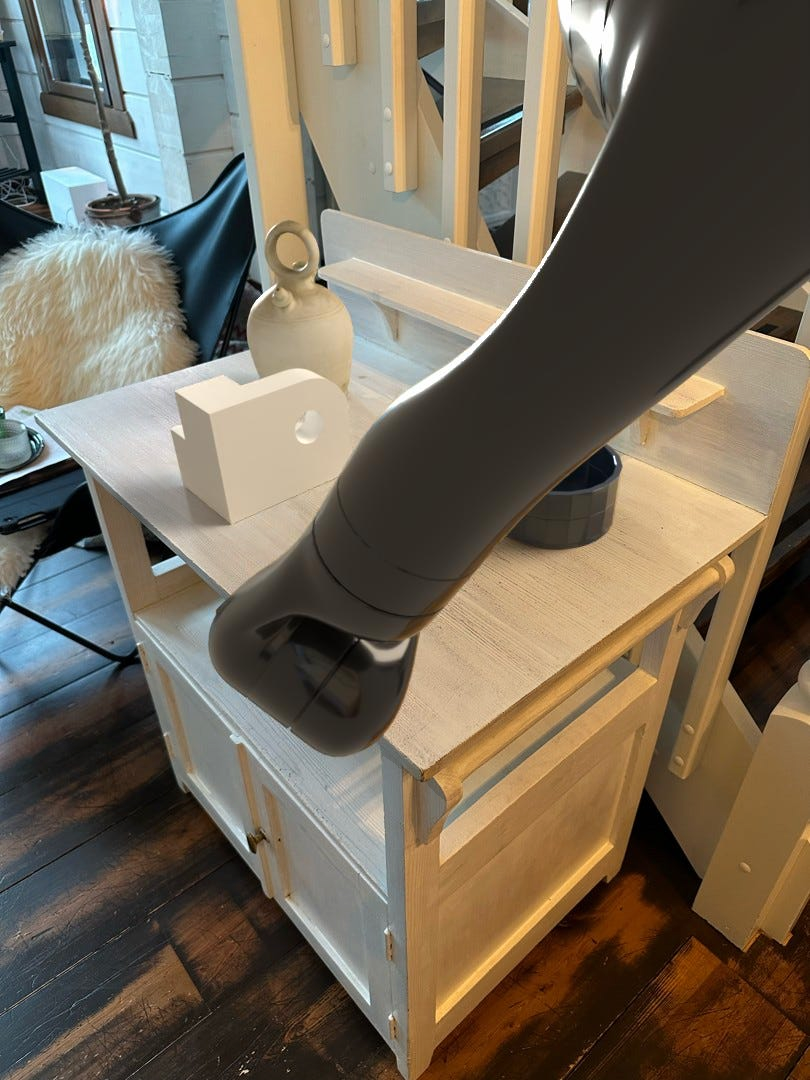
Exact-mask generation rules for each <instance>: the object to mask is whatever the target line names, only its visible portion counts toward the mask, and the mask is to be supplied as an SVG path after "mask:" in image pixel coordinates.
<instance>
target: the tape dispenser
mask: <svg viewBox="0 0 810 1080" xmlns="http://www.w3.org/2000/svg"><path fill="white" fill-rule="evenodd" d="M173 392H174V395H175V401H176V405H177V409H178V413H179V418H180V422H181V424H178V425H175V426H173V427H171V428H169V430H170V434H171V438H172V442H173V443H172V444H173V447H174V451H175V455H176V459H177V464H178V468H179V472H180V477H181V481H182V485H183V486H184V487H185V488H186V489H187V490H188V491H190V492H191V493H192V494H194V496H196V497H197V498H198V499H200V500H201V501H202V502H203V503H204V504H206V505H207V506H208V507H209V508H211V510H213V511H214V512H216V514H218V515H219V516H220V517H221V518H223V520H225V522H227V523H229V524H230V525H234V524H236V523H238V522H240V521H243V520H244V519H247V518H249V517H251V516H253V515H256V514H258V513H260V512H262V511H265V510H268V508H269V509H270V508H271V507H274V506H276V505H279V504H281V503H283V502H285V501H287V500H289V499H292V498H293V497H296V496H298V495H301V494H303V493H305V492H307V491H310V490H311V489H314V488H316V487H318V486H321V485H323V484H326V483H328V482H329V481H332V480H334V479H337V478H338V476H339V474H340V473H341V471H342V469H343V467H344V465H345V464H346V462H347V460H348V459H349V457H350V455H351V454H352V452H353V451H354V449H353V438H352V427H351V426H352V425H351V414H350V406H349V402H348V399H347V395H346V396H345V394H344V393H343V391H342V390H341V389H340V388H339V387H338V386H337V385H336V384H335V383H333V382H331V381H329V380H327V379H325V378H324V377H322V376H320V375H318V374H316V373H314V372H312V371H309V370H306V369H298V368H296V369H289V370H286V371H283V372H280V373H277V374H274V375H271V376H268V377H265V378H262V379H260V378H259V379H256V380H253V381H251V382H248V383H245V384H242V385H241V384H239V383H238V382H236V381H234V380H233V379H231V378H230V377H227V376H226V375H224V374H220V375H218V376H215V377H211V378H209V379H206V380H203V381H199V382H197V383H193V384H190V385H188V386H185V387H181V388H179V389H175V390H174V391H173ZM304 414H305V415H304ZM303 415H304V419H303V421H299V420H300V418H301V417H302V416H303Z"/></svg>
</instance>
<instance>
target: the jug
mask: <svg viewBox="0 0 810 1080" xmlns="http://www.w3.org/2000/svg"><path fill="white" fill-rule="evenodd" d="M287 233H288V234H293V235H295V236H297V237H298V238H299V239H300V240H301V242H303V244H304V247H305V248H306V251H307V261H306V260H305V261H304V260H303V261H300V260H299V261H296V262H293V263H292V268H291V267H290V268H289V267H288V266H286V265H285V264H284V263H282V261H281V260H280V258H279V256H278V252H277V243H278V240H279V239H280V238H281V236H282V235H285V234H287ZM263 253H264V258H265V261H266V263H267V266H268V267H269V268H270V270H271V271H272V272H273V273H274V274H275V275H276V276H277V282H276V283H275V285H273V286H272V287H269V289H267V290H266V291H264V293H263V294H262V295H260V297H258V299H256V300H255V302H254V303H253V304H252V307H251V308H250V311H249V315H248V319H247V323H246V338H247V339H246V340H247V345H248V349H249V353H250V356H251V358H252V361H253V364H254V367H255V370H256V372H257V374H258V376H259V379H262V378H265V377H268V376H271V375H274V374H277V373H280V372H283V371H286V370H289V369H296V368H298V369H306V370H309V371H312V372H314V373H316V374H318V375H320V376H322V377H324V378H325V379H327V380H329V381H331V382H333V383H335V384H336V385H337V386H338V387H339V388H340V389H341V390H342V391H343V393H344V394H345V396H346V397H347V395H348V391H349V389H348V387H349V384H350V380H351V374H352V373H351V372H352V364H353V363H352V362H353V355H354V353H353V352H354V340H355V334H354V327H353V321H352V317H351V315H350V313H349V311H348V309H347V307H346V306H345V304H344V302H343V300H342V299H341V298H340V297H339V296H338V295H337V294H336V293H335V292H333V291H332V290H330V289H328V288H327V287H325V286H323V285H321V284H319V283H316V282H315V277H316V276H317V273H318V272H319V263H320V249H319V244H318V242H317V240H316V238H315V236H314V234H313V233H312V232H311V230H309V229H308V227H307V226H305V225H304V224H302V223H300V222H298V221H295V220H291V219H288V220H283V221H280V222H278V223H276V224H275V225H274V226H272V227H271V228H270V230H269V231H268V233H267V235H266V236H265V240H264V244H263Z"/></svg>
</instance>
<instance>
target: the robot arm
mask: <svg viewBox="0 0 810 1080" xmlns="http://www.w3.org/2000/svg"><path fill="white" fill-rule="evenodd" d="M556 6H557V8H556V9H557V17H558V24H559V31H560V36H561V41H562V47H563V51H564V53H565V57H566V60H567V64H568V65H569V68H570V71H571V75H572V78H573V80H574V83H575V86H576V88H577V89H578V91H579V93H580V94H581V96H582V98H583V100H584V102H585V104H586V105H587V107H588V109H589V110H590V112H591V114H592V115H593V117H595V119H596V120H597V121H598V122H599V124H600V125H601V127H602V129H603V130H604V132H605V134H606V136H605V137H604V140H603V142H602V144H601V147H600V149H599V151H598V153H597V155H596V158H595V159H594V161H593V163H592V166H591V168H590V170H589V172H588V174H587V176H586V178H585V180H584V182H583V183H582V186H581V188H580V190H579V192H578V194H577V196H576V198H575V199H574V202H573V204H572V206H571V208H570V209H569V212H568V213H567V214H566V217H565V219H564V221H563V222H562V225H561V226H560V228H559V230H558V232H557V234H556V235H555V238H554V239H553V241H552V243H551V244H550V246H549V247H548V249H547V251H546V253H545V255H544V256H543V258H542V260H541V261H540V263H539V264H538V266H537V267H536V268H535V269H534V272H533V273H532V275H531V276H530V278H529V279H528V280H527V282H526V284H525V285H524V286H523V288H521V290H520V291H519V293H518V294H517V296H516V297H515V298H514V299H513V301H512V302H511V303H510V304H509V306H508V307H507V308H506V309H505V310H504V311H503V312H502V314H501V315H500V316H499V317H498V318H497V319H496V320H495V321H494V322H493V324H491V325H490V327H488V328H487V329H486V330H485V331H484V332H483V333H482V334H481V335H480V336H479V337H478V338H477V339H476V340H475V341H474V342H472V344H470V345H469V346H467V347H466V348H465V349H464V350H463V351H461V352H460V353H459V354H457V355H456V356H455V357H454V358H452V359H450V360H449V361H448V362H446V363H444V364H443V365H442V366H440V367H439V368H437V369H435V370H433V371H432V372H430V373H429V374H428V375H426V376H425V377H424V378H422V379H420V380H419V381H417V382H416V383H414V384H413V385H412V386H410V387H409V388H408V389H407V390H405V391H404V392H403V393H401V394H400V395H399V396H398V397H397V398H395V400H393V401H392V402H391V403H390V404H389V405H388V406H387V407H386V408H385V409H384V410H383V412H382V413H381V414H380V415H379V416H378V417H377V418H376V419H375V421H374V422H373V423H372V425H371V426H370V427H369V428H368V430H367V431H365V434H363V436H362V437H361V439H360V440H359V441H358V443H357V445H356V446H355V447H354V449H353V452H352V454H351V455H350V457H349V459H348V460H347V462H346V464H345V465H344V467H343V469H342V471H341V473H340V474H339V476H338V477H336V478H335V481H334V483H333V484H332V486H331V488H330V490H329V491H328V493H327V495H326V496H325V498H324V500H323V501H322V503H321V505H320V507H319V508H318V510H317V512H316V513H315V515H314V516H313V518H312V520H311V521H310V522H309V524H308V526H307V527H306V529H305V530H304V531H303V533H302V534H301V535H300V536H299V537H298V538H297V540H296V541H294V543H293V544H292V545H291V546H290V547H289V548H288V549H287V550H285V551H284V552H283V553H282V554H281V555H279V556H278V557H277V558H276V559H274V560H273V561H271V562H270V563H269V564H267V565H265V566H264V567H263V568H261V569H260V570H259V571H257V572H256V573H255V574H253V575H251V576H250V577H249V578H248V579H247V580H245V581H244V582H243V583H242V584H241V585H240V586H239V587H237V588H236V589H235V590H234V591H233V592H232V593H231V594H230V595H229V596H228V597H227V598H226V600H225V601H224V602H223V603H222V605H221V606H220V607H219V609H218V610H217V612H216V614H215V615H214V617H213V619H212V622H211V624H210V627H209V632H208V638H207V639H208V641H207V647H208V654H209V657H210V662H211V664H212V666H213V668H214V670H215V672H216V673H217V674H218V676H219V677H220V678H221V679H222V680H223V681H224V682H225V683H226V684H227V685H228V686H229V687H231V688H232V689H233V690H235V691H236V692H237V693H238V694H240V695H242V696H243V697H244V698H246V699H247V700H249V701H250V702H251V703H253V704H254V705H255V706H256V707H257V708H259V709H260V710H262V711H263V712H264V713H265V714H267V715H268V716H269V717H271V718H272V719H273V720H274V721H276V722H277V723H278V724H280V725H281V726H282V727H283V728H285V729H286V730H288V729H289V732H290V733H292V734H293V735H294V736H296V737H297V738H298V739H299V740H301V741H302V742H303V743H304V744H306V745H307V746H308V747H310V748H311V749H313V750H314V751H316V752H318V753H320V754H322V755H323V756H328V757H332V758H345V757H349V756H354V755H356V754H359V753H361V752H363V751H365V750H366V749H368V748H370V747H372V746H373V745H374V744H376V743H377V742H378V741H380V740H381V738H382V737H383V736H384V735H385V734H386V732H387V731H388V730H389V729H390V727H391V726H392V725H393V724H394V722H395V720H396V718H397V716H398V714H399V712H400V711H401V708H402V706H403V704H404V702H405V699H406V696H407V693H408V689H409V687H410V683H411V680H412V675H413V671H414V667H415V661H416V656H417V651H418V645H419V641H420V635H421V632H422V631H424V629H426V628H427V627H428V626H429V625H430V624H431V623H432V622H433V621H435V619H436V618H437V617H438V615H440V613H441V612H442V611H443V610H444V609H445V607H447V605H448V604H449V603H450V602H451V600H453V598H454V597H455V596H456V595H457V594H458V593H459V591H460V590H461V589H462V588H463V587H464V585H466V583H467V582H468V581H469V580H470V579H471V578H472V576H474V574H475V573H476V572H477V570H479V568H480V567H481V566H482V565H483V564H484V563H485V561H486V560H487V559H488V558H489V557H490V556H491V554H492V553H493V552H494V550H495V549H496V548H497V547H498V546H499V545H500V543H501V542H502V541H503V540H504V539H505V538H506V537H507V536H506V535H507V534H508V533H509V532H510V531H511V530H512V529H513V528H514V527H515V526H516V525H517V524H518V523H519V521H520V520H521V519H522V518H523V517H524V516H525V515H526V514H527V513H528V512H529V511H530V510H531V509H532V508H533V507H534V506H535V505H536V504H537V503H538V502H539V501H540V500H542V499H543V498H544V497H545V496H546V495H547V494H548V493H549V492H550V491H551V490H552V489H553V488H554V487H555V486H557V485H558V484H559V483H560V482H561V481H562V480H563V479H565V478H566V477H567V476H568V475H569V474H570V473H571V472H573V471H574V470H575V469H576V468H577V467H579V466H580V465H581V464H582V463H584V462H585V461H586V460H587V459H588V458H590V457H591V456H592V455H593V454H594V453H596V452H597V451H598V450H599V449H601V448H602V447H603V446H604V445H606V444H609V442H611V441H613V439H615V438H616V437H617V436H618V435H619V434H620V433H622V432H623V431H625V430H626V429H627V428H628V427H630V426H632V424H634V423H635V422H636V421H637V420H638V419H640V418H641V417H642V416H644V415H645V414H646V413H647V412H649V411H650V410H651V409H653V408H654V407H655V406H656V405H658V404H659V403H660V402H661V401H663V400H664V399H665V398H667V397H668V396H669V395H670V394H671V393H673V392H674V391H675V390H677V389H678V388H679V387H680V386H682V385H683V384H684V383H685V382H686V381H688V380H689V379H690V378H692V377H693V376H694V375H695V374H697V373H698V372H699V371H700V370H701V369H702V368H704V367H705V366H706V365H707V364H708V363H710V362H711V361H712V360H713V359H714V358H716V357H717V356H719V354H720V353H722V352H723V351H724V350H725V349H727V348H728V347H730V345H732V343H734V342H735V341H736V340H738V339H739V338H740V337H741V336H742V335H744V334H745V333H746V332H747V331H749V330H750V329H751V328H752V327H754V326H755V325H756V324H758V323H759V322H760V321H761V320H763V319H764V318H765V317H766V316H768V314H770V313H771V312H772V311H774V310H775V309H776V308H777V307H779V306H780V305H781V304H782V303H783V302H784V301H786V300H788V298H790V297H791V296H792V295H793V294H795V293H796V292H797V291H798V290H800V289H801V288H802V287H804V285H806V284H807V283H808V282H810V0H556Z"/></svg>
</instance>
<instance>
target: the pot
mask: <svg viewBox="0 0 810 1080" xmlns="http://www.w3.org/2000/svg"><path fill="white" fill-rule="evenodd" d="M623 466H624V465H623V462H622V459H621V455H620V454H619V453H618V452H616V450H615V449H614V448H613V447H612V446H610V445H609V443H607V444H606V445H604V446H603V447H602V448H601V449H599V450H598V451H597V452H596V453H594V454H593V455H592V456H591V457H590V458H588V459H587V460H586V461H585V462H584V463H582V464H581V465H580V466H579V467H577V468H576V469H575V470H574V471H573V472H571V473H570V474H569V475H568V476H567V477H566V478H565V479H563V480H562V481H561V482H560V483H559V484H558V485H557V486H555V487H554V488H553V489H552V490H551V491H550V492H549V493H548V494H547V495H546V496H545V497H544V498H543V499H542V500H540V501H539V502H538V503H537V504H536V505H535V506H534V507H533V508H532V509H531V510H530V511H529V512H528V513H527V514H526V515H525V516H524V517H523V518H522V519H521V520H520V521H519V523H518V524H517V525H516V526H515V527H514V528H513V529H512V530H511V531H510V532H509V533H508V534H507V535H506V536H505V537H508V538H509V539H511V540H513V541H515V542H518V543H521V544H523V545H527V546H532V547H535V548H542V549H552V550H553V549H554V550H560V549H564V550H565V549H573V548H578V547H583V546H586V545H589V544H592V543H594V542H596V541H598V540H599V539H601V538H602V537H604V536H605V535H606V534H607V533H608V532H609V531H610V529H611V528H612V526H613V523H614V519H615V515H616V509H617V504H618V498H619V492H620V491H619V490H620V486H621V481H622V480H621V479H622V473H623Z"/></svg>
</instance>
